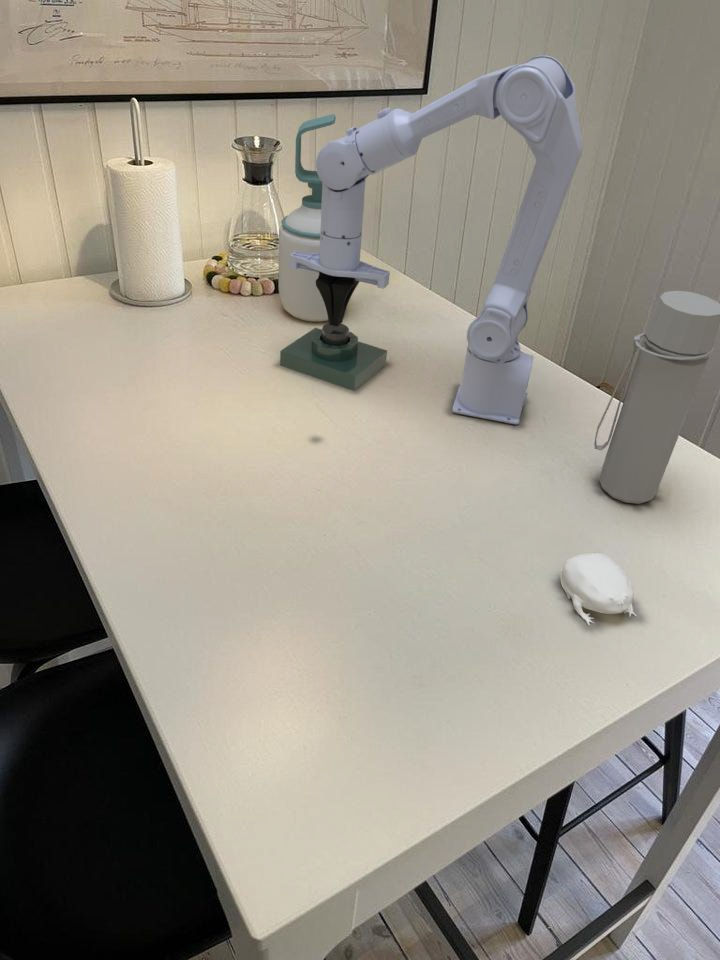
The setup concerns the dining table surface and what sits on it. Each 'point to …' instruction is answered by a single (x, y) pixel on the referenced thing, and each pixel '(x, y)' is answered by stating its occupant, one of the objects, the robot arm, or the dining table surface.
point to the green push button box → (334, 359)
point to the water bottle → (658, 394)
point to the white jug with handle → (303, 240)
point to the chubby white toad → (596, 585)
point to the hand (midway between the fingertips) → (335, 323)
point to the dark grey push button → (335, 334)
